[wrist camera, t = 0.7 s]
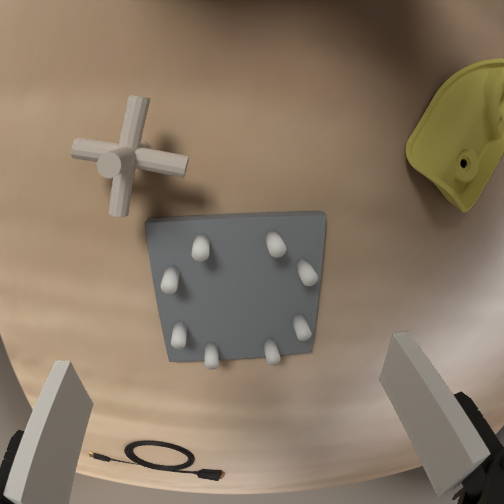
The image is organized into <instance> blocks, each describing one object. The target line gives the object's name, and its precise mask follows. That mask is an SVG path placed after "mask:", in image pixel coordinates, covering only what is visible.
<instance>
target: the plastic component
mask: <svg viewBox="0 0 504 504" xmlns="http://www.w3.org/2000/svg"><path fill="white" fill-rule="evenodd" d="M503 154H504V59H489V60H484V61H480V62H477V63H474V64H471V65H469V66H467V67H465V68H463V69H461V70H459V71H458V72H456V73H455V74H453V75H452V76H451V77H450V78H449V79H448V80H447V81H446V82H445V83H444V84H443V85H442V86H441V87H440V88H439V90H438V91H437V92H436V94H435V96H434V97H433V99H432V101H431V102H430V104H429V106H428V108H427V109H426V111H425V113H424V114H423V116H422V118H421V119H420V121H419V123H418V124H417V126H416V128H415V129H414V131H413V133H412V134H411V136H410V137H409V139H408V141H407V143H406V156H407V159H408V161H409V163H410V164H411V165H412V166H413V168H414V169H415V170H417V171H418V172H419V173H421V174H422V175H424V176H425V177H426V178H428V179H429V180H430V181H431V182H433V183H434V184H435V185H436V186H437V188H438V189H439V190H440V192H441V193H442V194H443V195H444V197H445V198H446V199H447V200H448V201H449V202H450V203H452V204H453V205H454V206H456V207H457V208H458V209H459V210H461V211H462V212H464V213H465V212H467V211H469V210H470V209H471V208H472V207H473V205H474V204H475V202H476V201H477V199H478V198H479V196H480V194H481V193H482V191H483V189H484V188H485V186H486V184H487V183H488V181H489V179H490V177H491V176H492V174H493V172H494V170H495V168H496V167H497V165H498V163H499V161H500V159H501V157H502V156H503ZM462 159H464V160H465V161H466V166H465V167H464V168H462V167H461V165H460V161H461V160H462Z"/></svg>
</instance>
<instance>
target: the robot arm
mask: <svg viewBox="0 0 504 504" xmlns="http://www.w3.org/2000/svg"><path fill="white" fill-rule="evenodd" d="M379 380H380V382H381V384H382V386H383V388H384V389H385V391H386V393H387V395H388V397H389V399H390V401H391V403H392V405H393V407H394V409H395V410H396V412H397V414H398V416H399V418H400V420H401V422H402V424H403V426H404V428H405V430H406V432H407V434H408V436H409V438H410V440H411V442H412V444H413V446H414V448H415V450H416V452H417V454H418V456H419V458H420V461H421V463H422V465H423V467H424V469H425V471H426V473H427V475H428V477H429V480H430V482H431V483H432V486H433V488H434V490H435V493H436V495H437V497H440V496H442V495H444V494H446V493H448V492H450V491H452V490H454V489H455V488H456V487H457V486H458V485H460V484H461V483H462V485H463V488H462V489H461V490H459V491H458V492H457V493H456V494H455V495H454V497H453V499H452V500H455V499H456V498H457V497H459V496H460V497H459V499H458V504H504V447H503V446H502V444H501V443H500V442H499V440H498V438H497V437H496V435H495V434H494V432H493V431H492V429H491V427H490V426H489V424H488V423H487V421H486V420H485V418H483V415H482V414H481V412H480V411H478V408H477V406H476V405H475V404H474V402H473V401H472V399H471V398H469V397H468V396H467V395H465V394H464V393H463V392H459V393H457V394H454V395H453V394H452V392H451V391H450V389H449V388H448V386H447V385H446V383H445V382H444V380H443V379H442V377H441V376H440V375H439V373H438V372H437V370H436V369H435V368H434V366H433V365H432V363H431V362H430V360H429V359H428V358H427V356H426V355H425V354H424V352H423V351H422V349H421V348H420V347H419V345H418V344H417V343H416V341H415V340H414V339H413V337H412V336H411V334H410V333H409V332H408V331H405V332H401V333H396V334H393V335H392V338H391V342H390V345H389V349H388V352H387V356H386V359H385V362H384V366H383V369H382V372H381V375H380V378H379ZM92 407H93V402H92V400H91V398H90V397H89V395H88V393H87V391H86V390H85V388H84V386H83V384H82V382H81V380H80V379H79V377H78V375H77V373H76V371H75V369H74V367H73V365H72V363H71V361H58V360H56V361H55V363H54V365H53V367H52V370H51V372H50V374H49V376H48V378H47V380H46V382H45V384H44V387H43V389H42V391H41V393H40V396H39V398H38V400H37V402H36V405H35V407H34V409H33V412H32V414H31V417H30V419H29V422H28V424H27V427H26V429H25V431H21V430H18V431H17V432H16V433H15V434H14V436H13V437H12V438H11V440H10V442H9V445H8V448H7V452H6V453H5V456H4V460H3V461H2V464H1V467H0V504H69V499H70V494H71V490H72V485H73V480H74V476H75V471H76V467H77V463H78V459H79V455H80V451H81V447H82V443H83V439H84V435H85V432H86V428H87V424H88V421H89V417H90V414H91V411H92Z"/></svg>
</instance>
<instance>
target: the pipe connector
mask: <svg viewBox="0 0 504 504" xmlns="http://www.w3.org/2000/svg"><path fill="white" fill-rule="evenodd" d="M149 103H150V98H145V97H138V96H130V95H129V99H128V103H127V108H126V112H125V116H124V121H123V126H122V131H121V136H120V141H119V144H118V143H112V142H105V141H98V140H91V139H84V138H76V139H75V140H74V142H73V144H72V148H71V156H72V158H76V159H82V160H88V161H95V162H97V170H98V172H99V174H100V175H101V176H103V177H105V178H113V182H112V189H111V197H110V205H109V214H110V215H112V216H115V217H126V216H128V213H129V206H130V199H131V192H132V186H133V180H134V174H135V169H141V170H146V171H152V172H157V173H162V174H167V175H172V176H177V177H182V178H184V176H185V173H186V169H187V164H188V159H189V156H184V155H179V154H174V153H169V152H164V151H159V150H153V149H150V146H149V144H148V143H147V142H145V141H141V138H142V133H143V128H144V124H145V119H146V115H147V111H148V107H149Z"/></svg>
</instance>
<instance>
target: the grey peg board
mask: <svg viewBox="0 0 504 504" xmlns="http://www.w3.org/2000/svg"><path fill="white" fill-rule="evenodd" d="M325 227H326V214H325V213H323V212H322V211H297V212H263V213H237V214H215V215H196V216H178V217H162V218H148V219H147V220H146V222H145V229H146V236H147V244H148V251H149V258H150V264H151V271H152V277H153V283H154V289H155V294H156V300H157V305H158V311H159V316H160V321H161V326H162V331H163V336H164V340H165V345H166V350H167V354H168V358H169V362H185V361H205V362H204V365H205V367H206V368H208V369H216V368H217V367H218V366H219V360H232V359H247V358H260V357H266V361H267V363H268V364H269V365H276V364H278V363H279V362H280V360H281V359H280V356H282V355H292V354H301V353H310V352H312V347H313V340H314V333H315V325H316V317H317V309H318V300H319V291H320V282H321V272H322V262H323V251H324V240H325Z"/></svg>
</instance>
